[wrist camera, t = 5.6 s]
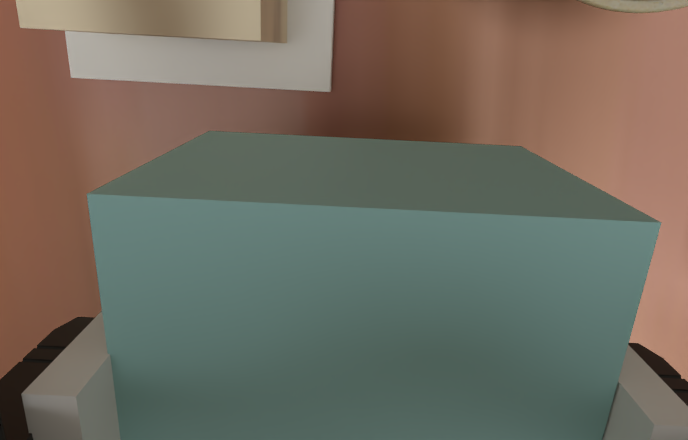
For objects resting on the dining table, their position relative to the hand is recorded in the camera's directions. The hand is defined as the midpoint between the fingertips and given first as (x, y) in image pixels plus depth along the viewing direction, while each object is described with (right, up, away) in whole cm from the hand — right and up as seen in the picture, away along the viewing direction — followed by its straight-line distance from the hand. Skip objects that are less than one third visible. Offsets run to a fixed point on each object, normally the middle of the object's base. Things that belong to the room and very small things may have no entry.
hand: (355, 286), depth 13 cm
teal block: (0, 0, 0) cm, 0 cm away
